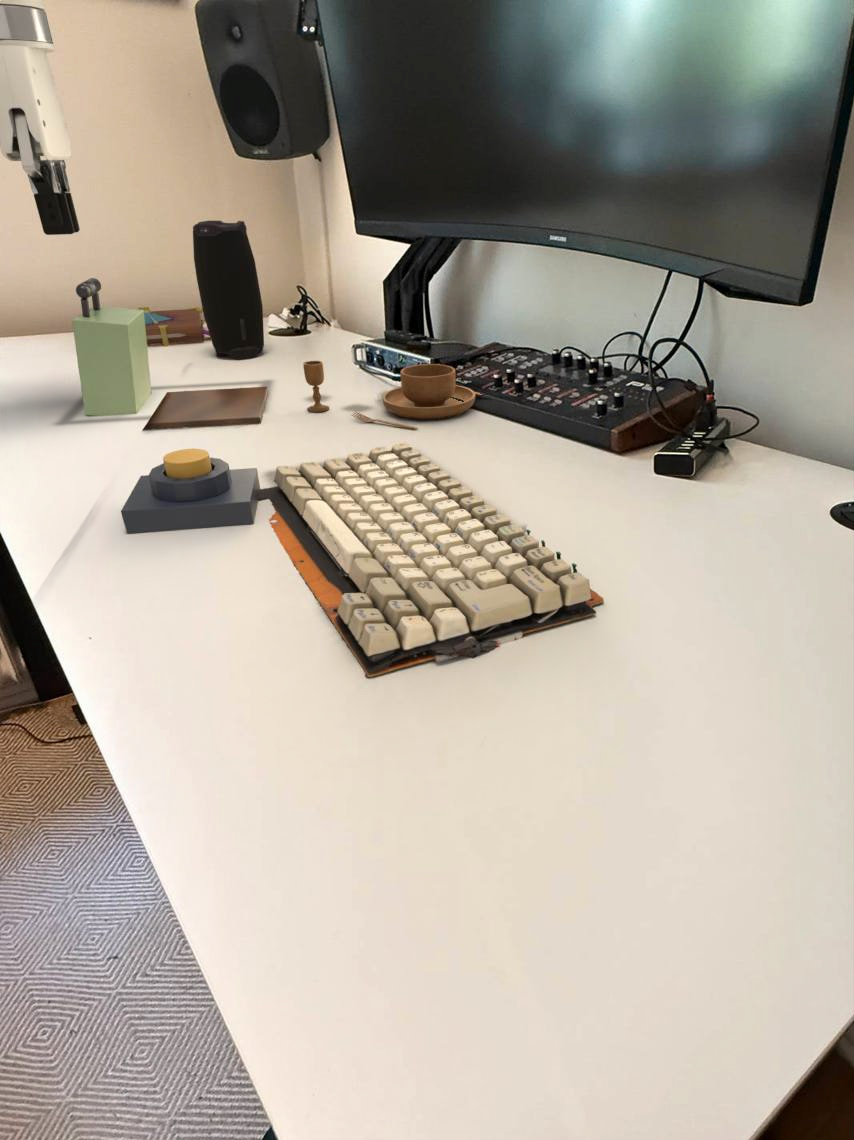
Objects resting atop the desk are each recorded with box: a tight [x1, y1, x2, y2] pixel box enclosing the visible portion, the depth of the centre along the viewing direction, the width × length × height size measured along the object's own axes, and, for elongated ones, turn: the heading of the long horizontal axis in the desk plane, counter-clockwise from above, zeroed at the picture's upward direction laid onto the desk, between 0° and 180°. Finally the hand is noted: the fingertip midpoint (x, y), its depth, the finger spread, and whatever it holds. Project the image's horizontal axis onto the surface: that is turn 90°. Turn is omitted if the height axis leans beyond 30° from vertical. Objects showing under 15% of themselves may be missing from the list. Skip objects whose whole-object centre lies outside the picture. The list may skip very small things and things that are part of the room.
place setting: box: [302, 360, 483, 430], centre depth 103 cm, size 18×20×6 cm
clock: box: [71, 277, 152, 417], centre depth 99 cm, size 6×10×15 cm, turn 9°
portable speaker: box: [192, 220, 265, 361], centre depth 127 cm, size 9×9×20 cm
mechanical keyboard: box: [258, 442, 605, 678], centre depth 68 cm, size 38×19×3 cm, turn 27°
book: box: [136, 306, 210, 347], centre depth 144 cm, size 16×25×5 cm, turn 107°
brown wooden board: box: [142, 386, 269, 431], centre depth 104 cm, size 23×15×1 cm, turn 99°
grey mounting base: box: [120, 457, 261, 535], centre depth 74 cm, size 11×9×4 cm
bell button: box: [162, 448, 212, 479], centre depth 73 cm, size 4×4×2 cm
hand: (62, 232), depth 92 cm, fingers closed
